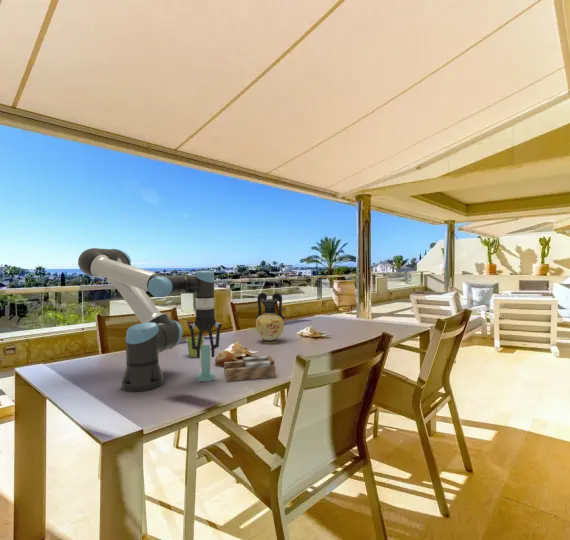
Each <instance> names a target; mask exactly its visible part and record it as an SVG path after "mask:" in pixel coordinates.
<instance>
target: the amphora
mask: <svg viewBox="0 0 570 540" xmlns="http://www.w3.org/2000/svg"><path fill="white" fill-rule="evenodd" d="M271 297H272V298H268V295H267V294H266V293H265V292H260V293H258V295H257V298H256V299H257V301H256V302H257V307H258V308H257V310H258V311H257V316H255V319H256V320H255V327H256V328H255V329H256V331H257V334H258V335H259V337H261V339H262V343H264V344H276V343H278V338H279V337H280V336H282V334H283V331H284V327H285V322H284V321H285V320H284V319H285V316H284V315H283V313H282V312H283V311H282V310H283V296H282V294H281V293H279V292H275V293H273V294H272V296H271ZM261 302H262V303H261ZM277 304H278V313H276V309H275V308H276V305H277ZM261 305H263V306H264V312H263V313H262V306H261Z"/></svg>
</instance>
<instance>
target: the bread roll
mask: <svg viewBox="0 0 570 540" xmlns="http://www.w3.org/2000/svg"><path fill="white" fill-rule="evenodd" d="M233 361H239V359H238V358H237V356H236V355H235V354H234V353H232V352H231V351H228V350H224V351H221V352H220V353H218V354H217V356H216V357H215V359H214V364H215V366H216V367H218V366H221V367H220V368H224V362H233Z"/></svg>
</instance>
